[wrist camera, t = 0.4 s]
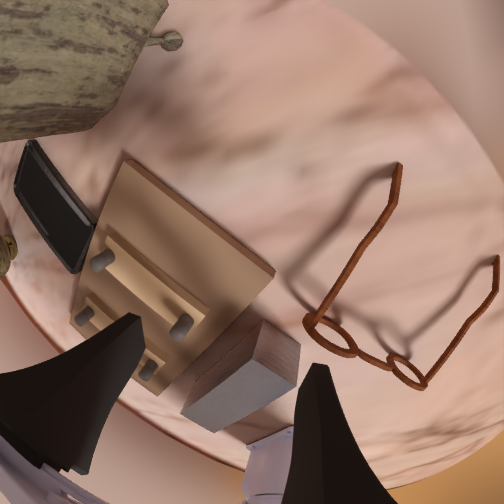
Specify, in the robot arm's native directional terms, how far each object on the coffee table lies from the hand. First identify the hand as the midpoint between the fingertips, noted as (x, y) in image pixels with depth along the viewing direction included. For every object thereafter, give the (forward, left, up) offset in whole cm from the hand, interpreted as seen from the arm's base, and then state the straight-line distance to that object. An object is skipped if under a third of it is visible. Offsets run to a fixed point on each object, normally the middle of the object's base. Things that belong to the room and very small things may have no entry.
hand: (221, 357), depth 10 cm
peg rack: (-11, +6, -10) cm, 16 cm away
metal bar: (-10, -5, -11) cm, 16 cm away
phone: (-10, +21, -11) cm, 26 cm away
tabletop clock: (+6, +20, -11) cm, 23 cm away
